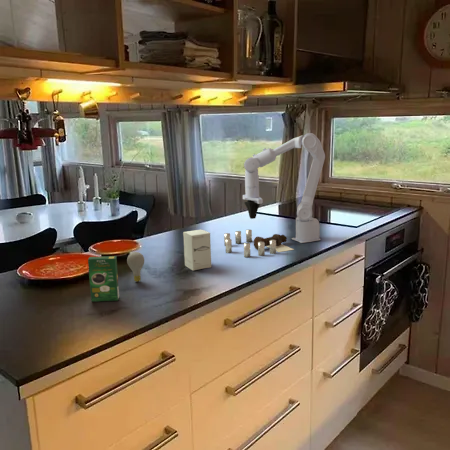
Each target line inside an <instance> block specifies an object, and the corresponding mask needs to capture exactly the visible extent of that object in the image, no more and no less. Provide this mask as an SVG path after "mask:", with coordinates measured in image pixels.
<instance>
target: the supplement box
mask: <svg viewBox="0 0 450 450" xmlns="http://www.w3.org/2000/svg"><path fill="white" fill-rule="evenodd" d="M182 235H183V255H184V267H187V268H188V269H189V270H191V271H197V270H201V269H208V268H212V251H211V250H212V249H211V245H212V244H211V232H208V231H207V230H204V229H195V230H188V231H183V233H182Z"/></svg>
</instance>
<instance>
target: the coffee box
mask: <svg viewBox="0 0 450 450" xmlns="http://www.w3.org/2000/svg"><path fill="white" fill-rule="evenodd" d="M117 257H118V256H117V255H114V256H113V255H112V256H89V257H88V259H87V264H88V278H89V290H90V299H91V300H90V301H91V302H92V303H93V302H94V303H95V302H97V303H98V302H115V301H119V300H120V299H119V298H120V289H119V274H118V260H117V259H118V258H117Z"/></svg>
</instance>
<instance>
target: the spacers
mask: <svg viewBox="0 0 450 450" xmlns="http://www.w3.org/2000/svg"><path fill="white" fill-rule="evenodd" d="M234 233H235V234H234V235H235V237H234V238H235V240H234V241H235V244H236V245H241V244H242V231H241V230H236V231H235V232H234ZM245 238H246V239H245V241H246V242H245V243H243V257H244V258H251V243H253V231H252V229H246V230H245ZM223 239H224V241H223V243H224V247H225V254H231V253H233V245H232V243H233V242H232V239H231V234H230V233H228V232H227V233H226V232H225V233H224V234H223ZM265 248H266V246H265V245H264V242H258V250H257V255H258V257H264V256H265V253H266V252H265ZM269 254H270V255H275V254H277V251H276V240H270V248H269Z"/></svg>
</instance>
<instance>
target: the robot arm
mask: <svg viewBox="0 0 450 450" xmlns="http://www.w3.org/2000/svg"><path fill="white" fill-rule="evenodd" d="M302 147H303V149H305V150H306V151H308V152H309V154H310V156H311V158H312V161H311V165H310V169H309V172H308V176H307V180H306V183H305V187H304V191H303V194H302V197H301V201H300V203H299V204H298V205H297V207H296V217H295V237H291V240H293V241H296V242H298V243H300V244H304V243H311V242H312V243H313V242H318V241H321V240H322V239H321V238H320V230H321V227H320V226H321V225H320V221H319V220H318V219H317V218H314V217H313V205H314V199H315V195H316V192H317V188H318V184H319V181H320V178H321V174H322V171H323V166H324V163H325V159H326V154H325V151H324V148H323V145H322V143H321V140H320V139H319V138H318V136H317V135H316V134H314V133H312V132H307V133H305V134H304V135H303V134H302V135H300V136H296V137H294V138H292V139H290V140H287V142H284V143H283V144H281V145H278V146H277V147H275V148H269V147H268V148H267V147H264V148H263V149H262V151H261V152H258V153H257V154H256V153H253V154H252V156H251V157H247V158H246V160H245V161H244V163H243V167H244V168H243V169H244V170H245V171H244V174H245V175H244V187H245V188H244V190H245V192H244V193H245V194H242V200H246V201H244V205H245V207H246V209H247V213H248V216H249V219H251V220H252V219H253V220H254V219H256V218H257V213H258V210H259V207H260V206H261V204H264V203H263V201H264V200H263V198H262V197H261V196H260V177H259V176H260V175H259V168H263V167H264V166H266V165H269V164H271V163H273V162H275V161H276V159H277V156H280V155H282V154H284V153H286V152H289V151H291V150H293V149H302Z"/></svg>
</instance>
